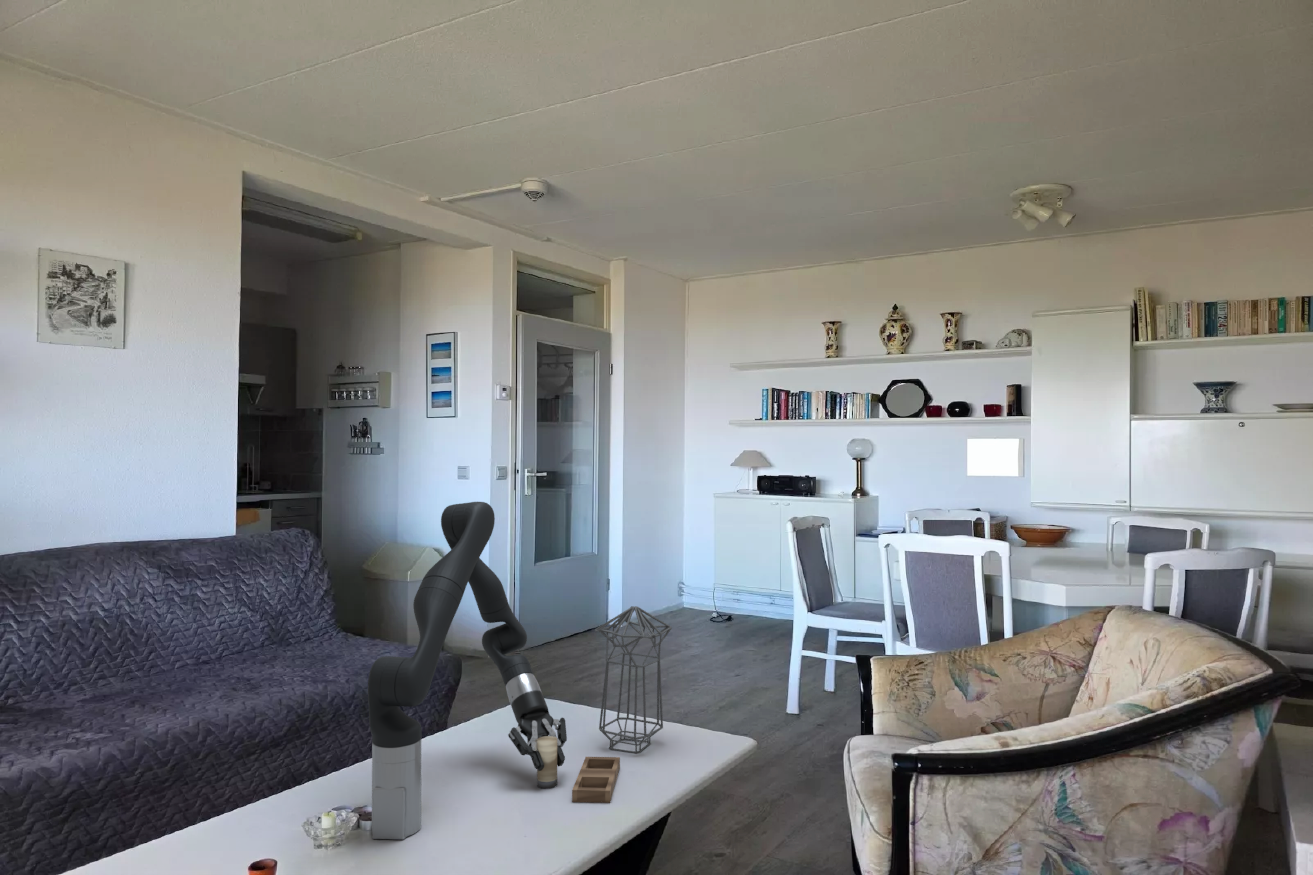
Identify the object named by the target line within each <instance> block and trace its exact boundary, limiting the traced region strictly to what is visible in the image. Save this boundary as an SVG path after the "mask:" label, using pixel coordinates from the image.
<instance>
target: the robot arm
mask: <svg viewBox="0 0 1313 875" xmlns="http://www.w3.org/2000/svg"><path fill="white" fill-rule="evenodd" d="M495 519H496V518H495V512H494V509H493V507H492V506H491V505H490V504H489V503H488V502H485V501H471V502H464V503H455V504H450V505H447V506H446V507H445V508H444V510H443V511H442V512H441V516H440V527H441V530H442V533H443V536H444V539H445V541H446V543H447V544H448V547H449V548H450V551H448V552H447V553H445V555H444V556H443V557H441V558H440V559H439V560H438V561H436V563H435V564H433V565H432V566H431V567H430V568H429V569H428V571H427V572H426V573H425V575H424V576H423V578H422V580H421V582H420V585H419V587H418V589H417V591H416V594H415V595H414V599H413V612H414V613H413V614H414V617H415V621H416V625H417V628H418V632H419V641H418V645H417V647H416V650H415V652H414V654H413V655H412V656H411V657H407V656H406V657H405V656H391V655H390V656H387V655H386V656H380V657H378V658H377V659H376V660H375V661H374V662H373V664H372V665H371V668H370V670H369V673H368V681H367V702H368V722H369V725H368V726H369V730H370V733H371V740H372V741H371V745H372V746H371V749H372V750H371V754H372V755H371V834H372V836H371V838H372V840H374V839H375V840H405V839H406V838H407V837H409V836H412V835H414V834H416V833H417V832H419V831H420V829H421V828H422V733H423V732H422V730H423V729H422V725H421V723H420V721H418V720H417V719H415V718H412V717H411V716H409V715H407V714H406V713H405V712H404V711H403V710H402V709H401V708H400V707H406V708H407V707H408V708H411V707H413V708H414V707H417V706H419V705H420V704H422V703H423V702H424V700H425V699H426V698H427V695H428V693H429V691H430V688H431V685H432V682H433V679H434V677H435V676H434V675H435V673H436V671H437V670H436V668H437V666H438V662H439V659H440V657H441V656H440V655H441V652H442V649H443V646H444V642H445V640H446V638H447V635H448V632H449V630H450V627H451V625H452V622H453V620H454V618H455V616H456V613H457V611H458V609H459V606H460V604H461V602H462V599H463V596H464V593H465V590H466V589H467V585H468V584H469V585H470V588H471V590H472V593H473V596H474V599H475V603H476V606H477V608H478V611H479V614H480V617H481V619H482V621H484V623H488V624H495V623H503V624H500V625H497V626H495V627H492V628H489V629H487V630H486V631H485V632H484V633H483V634H482V637H481V645H482V648H483V650H484V652H485V653H486V654H487V656H488V657H489V658H490V659H491V661H492V662H493V663H494V664H495V666H496V667H497V669H498V670H499V672H500V676H501V678H502V680H503V684H504V686H505V689H506V695H507V697H508V701H509V704H510V706H511V708H512V712H513V715H514V717H515V721H516V724H517V727H512V728H511V729H510V731H509V733H508V734H507V736H508V738H509V739H510V741H511V742H512V744H513V745H514V746H515V748H516V749H517V751H518V752H519V754H520V755H521V756H525V755H527V756H530V759H531V760H532V763H533V767H534V768H535V770H537V769H538V771H542V769H543V768H544V763H543V760H542V758H541V755H540V753H539V751H537V739H538V738H540V737H544V736H553V737H556V738H557V767H561V766H563V764H564V763H565V760H566V756H565V754H564V752H563V751H564V750H563V749H562V747H564V745H565V744H566V742H567V740H568V737H567V736H568V735H567V727H566V726H567V725H566V719H565V717H560V719H555V718H553V716H552V715H551V714H550V712H549V707H548V705H547V701H546V700H545V697H544V694H543V692H542V688H541V687H540V684H539V682H538V680H537V678H536V676H535V674H534V672H533V669H532V665H531V663H530V661H529V659H528V657H527V656H525V655H524V654H514V655H509V654H510V653H514V652H516V651H518V650H521V649H523V648H524V647H525V646H526V644H527V642H528V635H527V632H526V629H525V628H524V626H523V624H522V623H520V621H519V619H518V618H517V617H516V616H515V613H514V612H513V611H512V608H511V606H510V604H509V600H508V598H507V595H506V592H505V588H504V586H503V582H501V580H500V578H499V577H498V576H497V574H496V573H495V572H494V571H493V570H492V569H491V568H490V566H488V565H487V564H486V563H485V562H484V561H483V560H482V559H481V558H480V557H481V555H482V553H483V551H484V550H485V547H486V546H487V544H488V543H489V541H490V538H491V537H492V534H493V531H494V527H495V523H496V522H495ZM553 727H554V729H555V730H556V732H555V730H554V729H553ZM522 735H523V736H524V737H526V740H527V742H526V740H525V739H524V737H523V736H522Z"/></svg>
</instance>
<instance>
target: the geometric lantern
mask: <svg viewBox="0 0 1313 875" xmlns="http://www.w3.org/2000/svg"><path fill="white" fill-rule="evenodd" d="M634 612H635V615H636V618H637V621H638V622H635V621H631V619H632V615H633V613H634ZM647 616H648V617H650V618H652V619H653V620H655V621H657V622H658V623H660V624H662V625H660V624H659V625H654V623H653V622H652V621H651V620H650V619H649V618H648V617H647ZM612 622H613V623H612ZM624 623H626V624H625V627H624V630H623V633H622V634H621V633H619V630H620V628H621V627H622V625H623V624H624ZM634 625H635V626H639V629H640V630H639V629H638V628H636V627H635V626H634ZM606 626H607V627H606ZM629 626H630V627H631V628H632V629H633V630H634V631H636V632H637V633H638V635H634V634H633V635H632V634H631V635H630V634H628V635H627V630H628V627H629ZM611 628H612V630H610V629H611ZM659 628H663V629H661V630H659ZM672 629H673V627H672V626H671V625H670V624H667V623H666V622H664V621H662V620H661V619H659V618H657V617H656V616H654V615H652V614H651V613H649V612H647V611H646V610H644V609H642V608H641V607H639V606H630V607H629V608H628V609H626V610H624V611H622V612H621V613H619V614H617V615H616V616H615V617H612V618H611V619H610V620H608V621H606V622H605V623H603V624H601V625H599V626H598V627H596V628H594V631H595V632H596V633H598V632H599V633H600V634H601V635H603V636H604V637H605V639H606V645H605V647H606V648H605V661H606V662H605V672H604V680H603V690H602V698H601V705H600V717H599V726H598V730H599V731H600V733H602V734H603V735H604V736H605V737H606V738H607V739H608V740H609V746H608V749H609V750H610V751H619V752H624V753H632V754H639V753H641V752H643V750H645V749H646V748H648V747H649V746H650V745H651V741H652V740H651V737H653V736H654V735H656V733H658V732H659V731H660V730H662V729H663V730H664V719H663V718H664V717H663V713H664V712H663V697H662V696H663V695H662V677H661V675H662V673H661V644H662V642H663V641H664V639H665V638H666V637H667V636H668V634H669V633H670V632H671V630H672ZM645 630H646V632H647V634H648V635H646V634H645ZM655 631H656V632H657V633H654V632H655ZM650 633H651V634H650ZM609 634H611V636H609ZM617 637H621V642H620V641H619V639H618V638H617ZM658 637H659V641H658V642H657V641H656V640H657V639H656V638H658ZM624 638H635V639H633V640H631V641H629V642H628V643H624V642H625V641H624ZM641 639H650V641H651V642H650V643H651V644H652V646H651V648H650V650H649V651H648V653H647V654H642V653H641V654H640V653H635V652H633V650H634V649H635V648H636V646H637V645H638V643H639V642H640V640H641ZM615 640H616V641H617V643H618V644H617V643H616V642H615ZM609 642H610V643H612V647H613V649H612V650H611V653H610V654H609ZM656 642H657V643H656ZM621 643H622V644H621ZM632 644H633V646H632V648H631V649H630V650H629V649H628V646H631V645H632ZM657 647H658V651H657ZM616 648H621V650H622V651H623V652H620V653H618V654H615V655H613V653H614V651H615V650H616ZM653 648H654V651H655V654H656V656H654V655H650V654H651V651H652V650H653ZM612 655H613V656H612ZM626 655H627V656H629V660H628V661H629V663H627V664H626V663H625V658H626V657H625V656H626ZM632 655H633V656H641V657H645V658H644V661H643V662H642V664H637V663H636V662H635V660H634V658H633V656H632ZM618 656H622V659H621V662H616V661H610V660H611V659H613V658H616V657H618ZM648 658H654V659H656V660H654V661H650V662H648V663H647V664H645V663H646V661H647V659H648ZM654 663H655V664H656V663H657V665H656V666H657V667H656V668H657V672H656V673H657V678H656V680H657V681H656V682H657V684H656V685H657V686H656V688H657V689H656V690H657V691H656V692H657V693H656V699H657V700H656V721H649V720H647V715H646V714H647V711H646V710H647V706H646V670H645V669H646V667H647V666H650V665H652V664H654ZM610 664H613V665H614V664H615V665H620V666H621V670H620V671H621V672H620V682H619V692H618V704H617V714H616V718H614V719H613V720H611V721H609V722H607V723H606V716H607V715H606V713H607V699H608V698H607V697H608V680H609V668H610V666H609V665H610ZM625 667H628V680H627V681H628V682H627V683H628V686H627V702H626V716H625V717H622V716H621V717H620V712H621V711H620V710H621V703H622V691H623V679H624V668H625ZM632 668H635V670H634V671H635V672H634V674H635V675H634V709H633V710H634V711H633V712H634V713H633V714H634V715H633V716H634V717H633V718H632V717H630V697H631V679H632V677H631V674H632ZM638 668H642V696H643V697H642V699H643V700H642V702H643V703H642V704H643V708H642V709H643V719H640V718H637V716H638V715H637V713H638V712H637V709H638V704H637V703H638ZM619 720H621V721H623V720H625V723H624V730H623V729H622V726H621V724H620V721H619ZM628 720H629V721H633V731H629V730H627V725H628V724H627V723H628ZM615 722H616V723H617V724H618V727H619V732H613V731H609V730H605V729H606V727H608V726H610V725H611V724H613V723H615ZM637 722H639V723H643V733H641V732H638V731H637ZM647 724H650V725H654V726H653V728H652V729H651V730H650V732H649V733H647ZM657 726H659V727H658V728H657ZM656 728H657V729H656ZM622 733H623V734H622ZM627 733H628V734H633V736H632V735H626V734H627ZM609 735H614V736H612V737H610V736H609ZM637 735H640V736H637ZM616 737H619V738H618V740H616V739H614V738H616ZM625 740H626V741H625ZM631 740H632V742H634V743H632V742H627V741H631ZM639 741H640V742H639ZM637 742H639V743H637ZM646 742H647V744H646V745H645V746H643V747H642V744H644V743H646ZM617 743H621V744H624V745H625V744H626V745H630V746H631V745H632V746H635V748H634V749H635V751H633V750H627V749H626V750H625V749H621V748H620V749H619V748H614V746H615V745H617ZM649 744H650V745H649ZM638 746H639V749H638Z"/></svg>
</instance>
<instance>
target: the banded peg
mask: <svg viewBox="0 0 1313 875" xmlns="http://www.w3.org/2000/svg"><path fill="white" fill-rule="evenodd" d="M557 738H558V737H557ZM557 738H556V737H553V736H544V737H540V738H538V739H537V751H539V753H540V755H541V758H542V760H543V763H544V768H543V769H542V771H538V769H536V770H537V772H536V773H537V774H536V777H537V778H536V779H537V780H536V782H537V784H536V786H537V788H539V789H544V790H546V789H547V790H549V789H555V788H556V787H558V765H557ZM555 786H556V787H555Z"/></svg>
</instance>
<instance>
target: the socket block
mask: <svg viewBox="0 0 1313 875" xmlns="http://www.w3.org/2000/svg"><path fill="white" fill-rule="evenodd" d="M620 769H621V756H620V757H617V756H585V758H584V760H583V763H582V765H581V768H580V769H579V772H578V775H577V778H576V779H575V782H574V784H573V787H572V789H571V797H572V798H571V802H572V803H594V804H595V803H601V804H602V803H605V804H606V803H607V804H608V803H609V804H611V801H612V797H613V794H614V790H615V787H616V784H617V780H618V776H619V774H620Z"/></svg>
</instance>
